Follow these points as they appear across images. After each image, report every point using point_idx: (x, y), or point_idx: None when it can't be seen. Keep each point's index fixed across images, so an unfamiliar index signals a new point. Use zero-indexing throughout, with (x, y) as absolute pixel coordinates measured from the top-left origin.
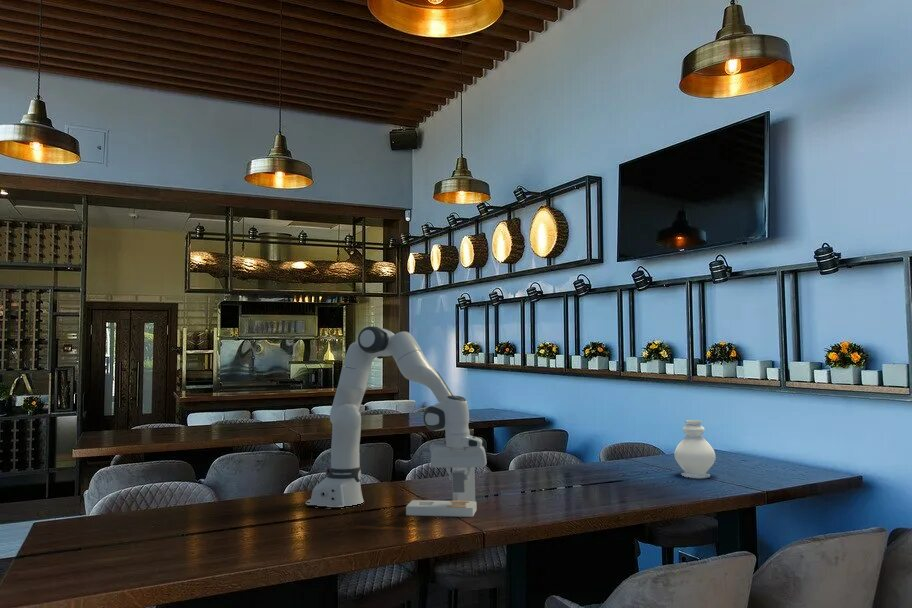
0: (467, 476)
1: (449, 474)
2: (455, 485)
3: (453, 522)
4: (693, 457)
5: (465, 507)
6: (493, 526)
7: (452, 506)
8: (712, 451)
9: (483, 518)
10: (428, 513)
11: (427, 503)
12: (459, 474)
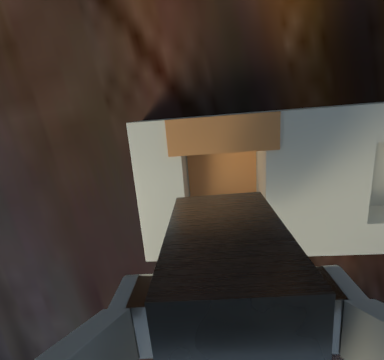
0: (120, 295)
1: (369, 305)
2: (250, 213)
3: (217, 51)
4: None
5: (165, 120)
6: (19, 15)
7: (243, 123)
8: None
9: (104, 148)
10: (367, 103)
11: None
12: (211, 280)
